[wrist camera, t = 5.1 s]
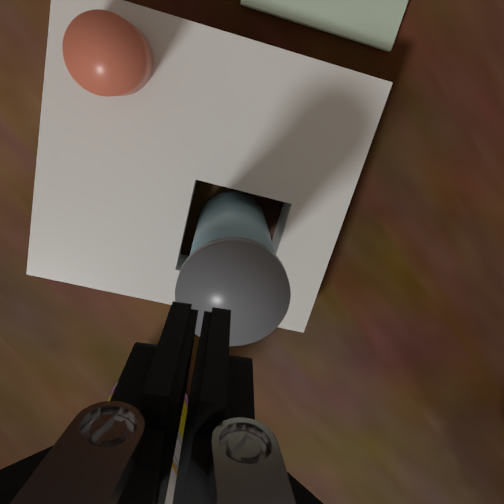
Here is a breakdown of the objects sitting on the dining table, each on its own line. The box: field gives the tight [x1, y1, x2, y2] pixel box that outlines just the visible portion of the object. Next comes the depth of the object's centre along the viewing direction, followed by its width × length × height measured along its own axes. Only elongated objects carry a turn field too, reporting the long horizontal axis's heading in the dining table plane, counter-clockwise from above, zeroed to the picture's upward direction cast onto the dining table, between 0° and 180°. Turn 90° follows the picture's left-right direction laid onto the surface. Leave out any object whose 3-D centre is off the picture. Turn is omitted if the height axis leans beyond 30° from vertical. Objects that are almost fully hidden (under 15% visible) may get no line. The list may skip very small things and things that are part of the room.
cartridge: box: [175, 191, 291, 346], centre depth 26 cm, size 6×6×12 cm
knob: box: [62, 9, 153, 97], centre depth 24 cm, size 4×4×6 cm
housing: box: [26, 0, 393, 333], centre depth 29 cm, size 20×18×3 cm
